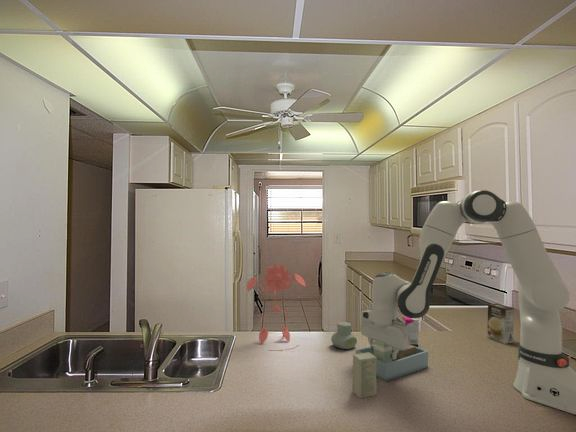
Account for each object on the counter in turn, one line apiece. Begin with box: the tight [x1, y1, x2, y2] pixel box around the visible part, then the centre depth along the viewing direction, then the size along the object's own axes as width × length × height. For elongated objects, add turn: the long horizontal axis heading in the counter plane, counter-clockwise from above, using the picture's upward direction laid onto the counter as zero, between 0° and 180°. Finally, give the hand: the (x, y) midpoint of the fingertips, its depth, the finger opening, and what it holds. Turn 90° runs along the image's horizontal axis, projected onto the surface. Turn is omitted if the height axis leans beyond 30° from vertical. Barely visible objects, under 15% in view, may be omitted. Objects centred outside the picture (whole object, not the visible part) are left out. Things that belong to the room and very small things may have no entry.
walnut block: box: [392, 344, 417, 361], centre depth 133 cm, size 7×7×6 cm
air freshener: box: [330, 321, 358, 350], centre depth 148 cm, size 11×8×10 cm
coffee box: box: [486, 302, 515, 345], centre depth 161 cm, size 9×6×16 cm
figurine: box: [246, 263, 307, 352], centre depth 149 cm, size 15×26×35 cm, turn 103°
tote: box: [354, 346, 429, 383], centre depth 129 cm, size 15×24×6 cm, turn 124°
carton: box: [374, 339, 392, 363], centre depth 127 cm, size 5×5×10 cm
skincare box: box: [352, 352, 377, 399], centre depth 109 cm, size 6×4×12 cm
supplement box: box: [402, 315, 420, 346], centre depth 154 cm, size 6×6×12 cm
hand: (383, 354), depth 127 cm, fingers open, 8 cm apart
